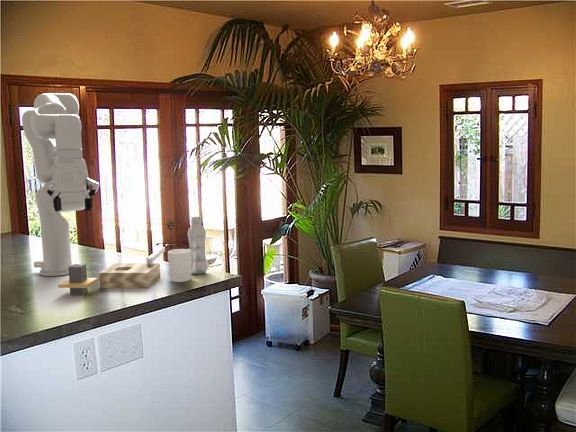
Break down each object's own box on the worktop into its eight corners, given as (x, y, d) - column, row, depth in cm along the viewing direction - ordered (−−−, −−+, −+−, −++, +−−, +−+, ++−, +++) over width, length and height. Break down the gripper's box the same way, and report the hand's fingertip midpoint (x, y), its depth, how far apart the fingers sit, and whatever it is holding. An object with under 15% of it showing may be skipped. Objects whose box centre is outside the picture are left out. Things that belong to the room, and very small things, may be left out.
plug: (59, 297, 191) (56, 268, 189) (71, 289, 200) (69, 262, 198) (87, 297, 190) (85, 268, 189) (98, 289, 199) (96, 262, 198)
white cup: (189, 276, 215) (188, 248, 214) (194, 281, 208) (193, 252, 206) (167, 278, 212) (165, 250, 211) (171, 283, 205) (170, 254, 204)
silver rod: (160, 253, 228) (159, 246, 228) (165, 253, 228) (165, 246, 228) (146, 266, 208) (145, 258, 207) (152, 266, 208) (151, 258, 207)
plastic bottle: (195, 276, 214) (193, 219, 211) (185, 273, 219) (183, 217, 216) (211, 273, 218) (209, 217, 215) (201, 270, 223) (199, 215, 220)
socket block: (99, 287, 201) (99, 272, 201) (115, 277, 215) (114, 263, 214) (147, 287, 200) (147, 272, 199) (160, 277, 214) (159, 263, 213)
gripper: (36, 156, 186) (40, 212, 188) (92, 155, 184) (95, 212, 187) (48, 155, 193) (52, 209, 196) (101, 154, 192) (105, 209, 194)
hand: (73, 210), depth 191 cm, fingers open, 9 cm apart
